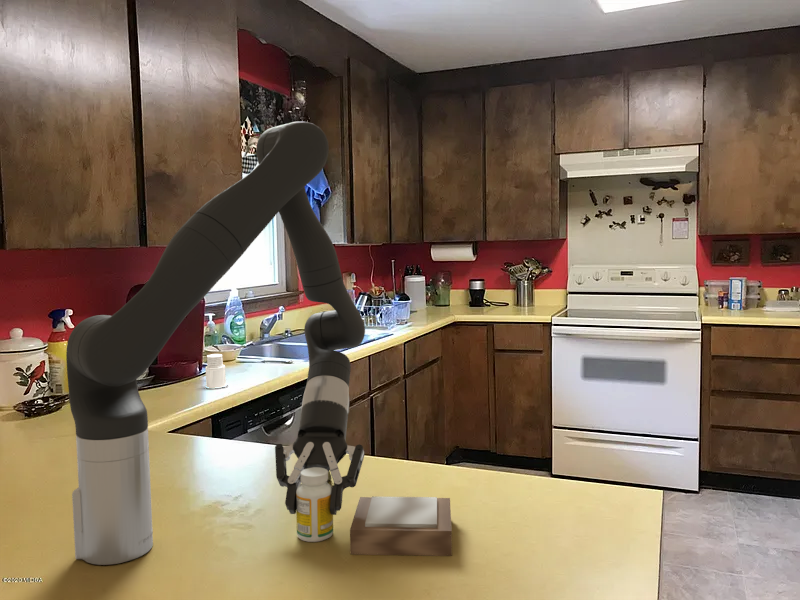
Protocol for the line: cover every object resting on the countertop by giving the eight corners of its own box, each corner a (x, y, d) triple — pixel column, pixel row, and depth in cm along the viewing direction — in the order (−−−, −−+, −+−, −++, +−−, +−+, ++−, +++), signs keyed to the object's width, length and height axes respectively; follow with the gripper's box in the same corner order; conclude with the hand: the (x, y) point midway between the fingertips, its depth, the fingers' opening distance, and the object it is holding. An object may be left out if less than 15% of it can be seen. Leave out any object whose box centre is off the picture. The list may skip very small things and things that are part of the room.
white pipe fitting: (211, 383, 209) (209, 352, 208) (232, 384, 208) (230, 352, 207) (200, 390, 201) (198, 358, 200) (222, 390, 200) (220, 358, 199)
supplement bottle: (295, 543, 95) (294, 478, 94) (297, 528, 101) (296, 466, 100) (333, 541, 96) (332, 477, 95) (333, 526, 101) (332, 464, 100)
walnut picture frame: (350, 554, 92) (349, 526, 92) (360, 518, 104) (359, 493, 103) (451, 555, 91) (451, 527, 91) (450, 519, 103) (449, 494, 103)
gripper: (276, 398, 105) (258, 501, 94) (367, 398, 104) (359, 502, 93) (284, 422, 110) (268, 522, 99) (371, 422, 109) (364, 523, 98)
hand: (312, 511), depth 96 cm, fingers closed on supplement bottle, 5 cm apart
